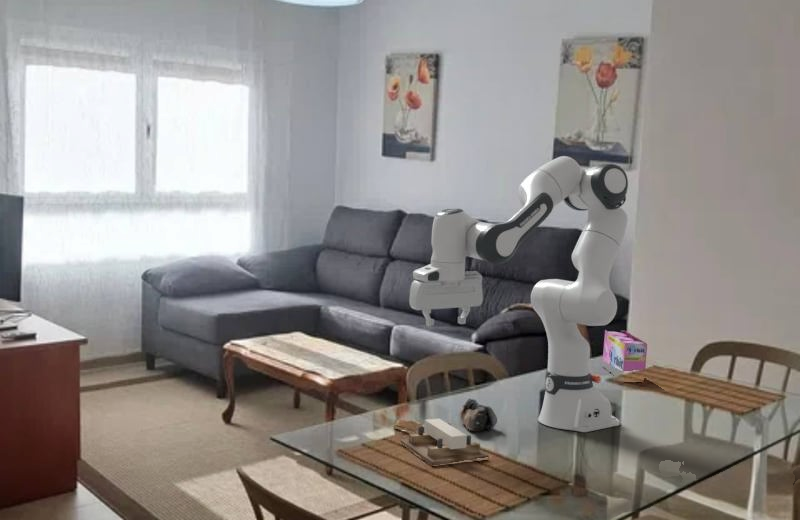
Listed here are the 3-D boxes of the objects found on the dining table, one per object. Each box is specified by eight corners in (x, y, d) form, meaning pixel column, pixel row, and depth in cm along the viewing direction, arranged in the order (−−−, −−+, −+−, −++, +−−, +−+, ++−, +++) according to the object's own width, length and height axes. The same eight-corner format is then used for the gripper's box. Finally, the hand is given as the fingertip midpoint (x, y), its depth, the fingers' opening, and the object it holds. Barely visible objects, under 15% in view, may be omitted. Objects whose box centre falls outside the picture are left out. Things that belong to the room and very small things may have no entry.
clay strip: (438, 430, 217) (439, 418, 217) (466, 447, 204) (466, 435, 204) (424, 431, 215) (424, 419, 215) (451, 449, 203) (451, 436, 202)
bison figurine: (467, 420, 239) (442, 425, 232) (469, 395, 238) (444, 399, 231) (501, 432, 230) (476, 437, 223) (503, 405, 230) (479, 410, 223)
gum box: (600, 366, 313) (602, 329, 312) (621, 366, 314) (624, 329, 312) (621, 383, 289) (624, 342, 288) (645, 383, 290) (648, 343, 289)
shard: (422, 440, 220) (422, 433, 220) (391, 438, 220) (392, 431, 220) (422, 427, 231) (422, 421, 231) (393, 425, 231) (394, 419, 231)
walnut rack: (453, 438, 221) (454, 418, 221) (488, 460, 206) (489, 438, 205) (400, 444, 215) (401, 423, 214) (431, 467, 199) (432, 444, 199)
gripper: (475, 268, 232) (473, 320, 234) (407, 271, 223) (405, 325, 225) (488, 272, 227) (486, 324, 229) (418, 275, 218) (417, 329, 219)
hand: (445, 324), depth 227 cm, fingers open, 8 cm apart
